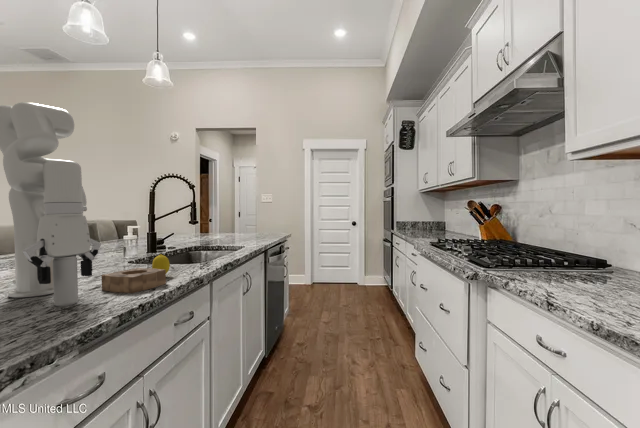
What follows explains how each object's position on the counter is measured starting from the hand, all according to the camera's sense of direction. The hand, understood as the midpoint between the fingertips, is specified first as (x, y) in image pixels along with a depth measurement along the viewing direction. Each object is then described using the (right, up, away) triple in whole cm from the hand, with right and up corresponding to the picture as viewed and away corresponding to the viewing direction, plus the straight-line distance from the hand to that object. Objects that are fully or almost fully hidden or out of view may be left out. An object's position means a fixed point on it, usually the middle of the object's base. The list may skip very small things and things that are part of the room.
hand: (66, 279), depth 81 cm
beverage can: (-1, -7, +1) cm, 7 cm away
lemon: (+7, -6, +33) cm, 34 cm away
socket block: (+7, -6, +18) cm, 20 cm away
